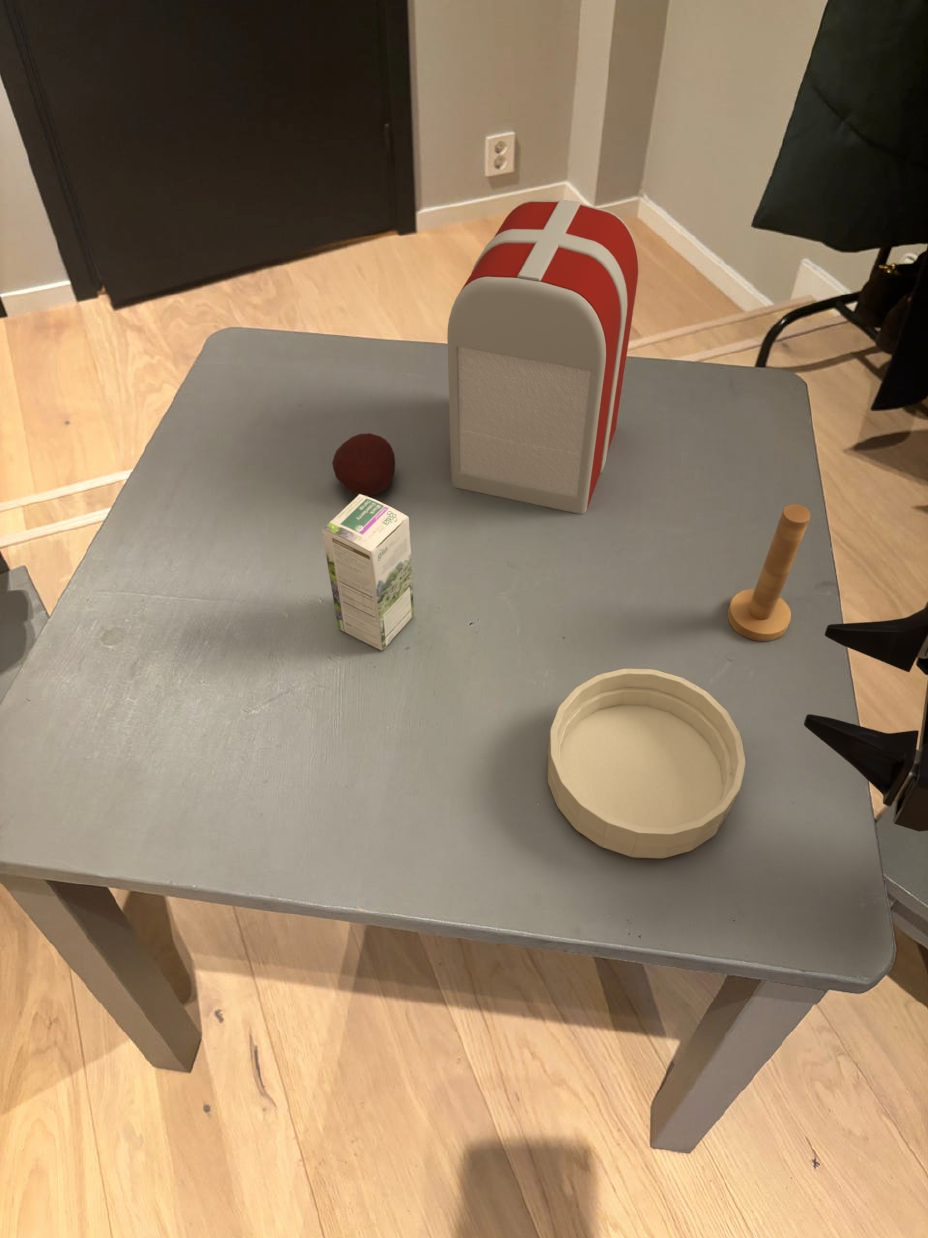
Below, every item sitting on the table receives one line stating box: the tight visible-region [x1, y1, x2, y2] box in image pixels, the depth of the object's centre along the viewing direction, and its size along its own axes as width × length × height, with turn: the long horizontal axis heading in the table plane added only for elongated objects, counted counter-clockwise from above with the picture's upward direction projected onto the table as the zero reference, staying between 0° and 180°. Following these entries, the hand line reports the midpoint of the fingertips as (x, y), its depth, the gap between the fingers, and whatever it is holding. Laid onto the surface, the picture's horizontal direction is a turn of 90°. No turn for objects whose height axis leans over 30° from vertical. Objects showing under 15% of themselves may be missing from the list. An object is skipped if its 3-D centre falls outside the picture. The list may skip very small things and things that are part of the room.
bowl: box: [546, 668, 747, 859], centre depth 78 cm, size 16×16×5 cm
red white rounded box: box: [446, 198, 640, 515], centre depth 98 cm, size 16×18×27 cm
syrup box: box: [321, 494, 415, 652], centre depth 86 cm, size 6×6×14 cm
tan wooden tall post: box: [727, 503, 812, 642], centre depth 85 cm, size 6×6×15 cm
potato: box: [332, 432, 396, 497], centre depth 103 cm, size 7×8×6 cm
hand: (816, 673), depth 68 cm, fingers open, 9 cm apart
